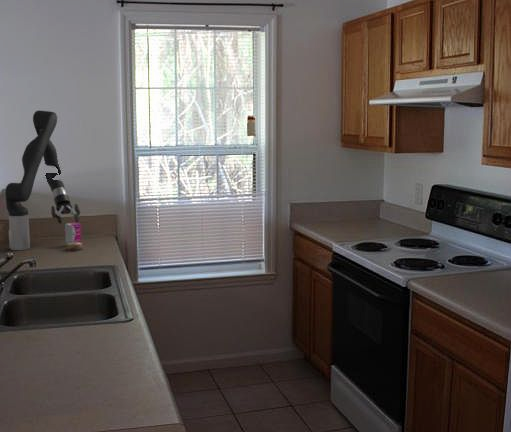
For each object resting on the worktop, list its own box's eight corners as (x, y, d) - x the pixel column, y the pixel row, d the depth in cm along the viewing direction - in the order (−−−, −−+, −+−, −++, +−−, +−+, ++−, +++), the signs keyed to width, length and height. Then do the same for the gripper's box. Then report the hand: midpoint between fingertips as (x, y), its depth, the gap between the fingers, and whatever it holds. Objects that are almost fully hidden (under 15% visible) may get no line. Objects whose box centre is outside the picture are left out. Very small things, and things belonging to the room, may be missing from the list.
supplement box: (72, 247, 345) (71, 225, 343) (65, 245, 349) (64, 223, 347) (81, 245, 350) (81, 223, 348) (74, 244, 353) (73, 222, 351)
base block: (69, 251, 334) (68, 245, 333) (63, 249, 340) (63, 243, 340) (84, 250, 338) (84, 244, 338) (79, 247, 345) (79, 241, 344)
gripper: (48, 194, 354) (56, 219, 346) (75, 192, 361) (83, 216, 354) (46, 203, 359) (54, 227, 351) (72, 201, 367) (80, 225, 359)
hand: (69, 222), depth 352 cm, fingers open, 8 cm apart
